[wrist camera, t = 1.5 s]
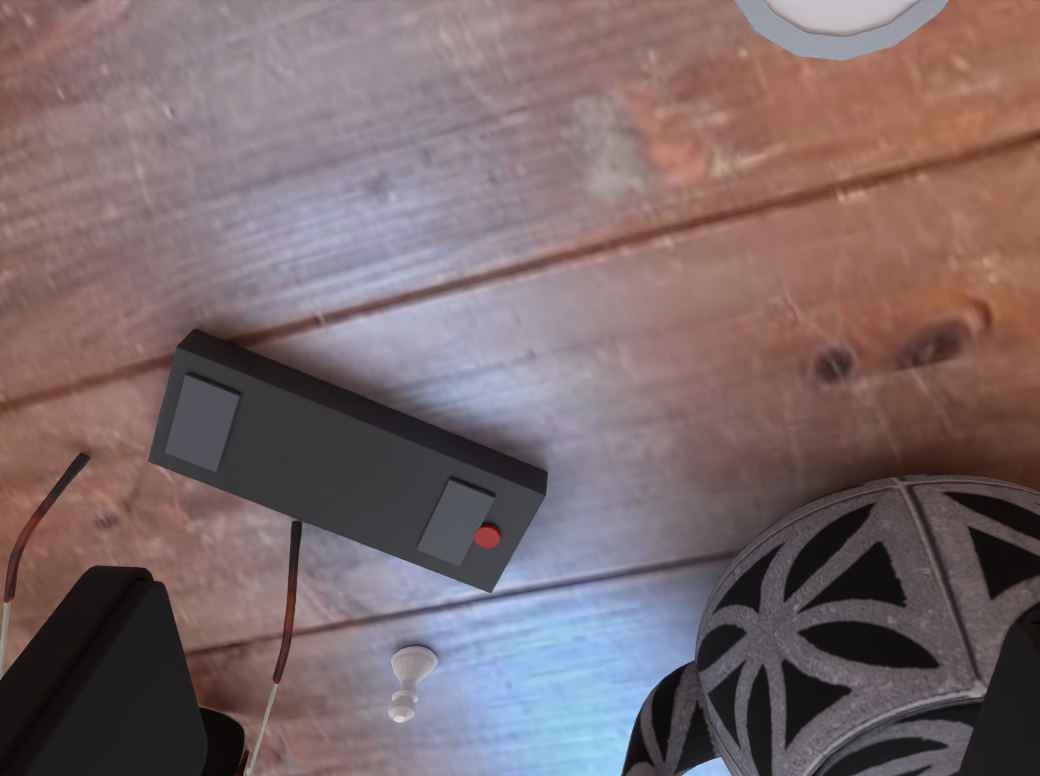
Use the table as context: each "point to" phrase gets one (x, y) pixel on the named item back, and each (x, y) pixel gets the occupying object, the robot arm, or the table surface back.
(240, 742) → the sunglasses
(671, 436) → the table surface
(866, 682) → the teapot
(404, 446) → the remote
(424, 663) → the chess pawn
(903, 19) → the white short cylinder
